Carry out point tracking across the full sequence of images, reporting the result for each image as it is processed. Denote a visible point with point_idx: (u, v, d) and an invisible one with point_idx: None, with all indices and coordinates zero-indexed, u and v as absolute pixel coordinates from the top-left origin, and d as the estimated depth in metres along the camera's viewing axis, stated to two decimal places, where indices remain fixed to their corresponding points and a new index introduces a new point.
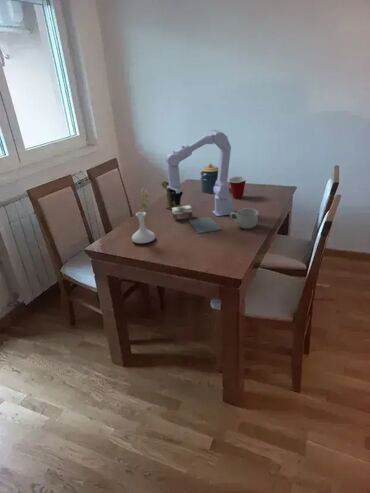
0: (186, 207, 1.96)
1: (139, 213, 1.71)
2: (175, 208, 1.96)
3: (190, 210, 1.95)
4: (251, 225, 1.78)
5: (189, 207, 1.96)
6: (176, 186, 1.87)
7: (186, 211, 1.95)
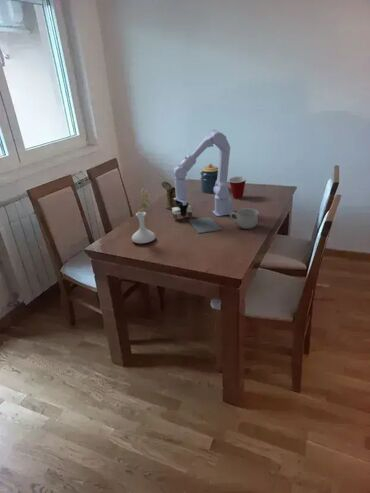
0: None
1: (139, 213, 1.71)
2: (175, 208, 1.96)
3: (190, 210, 1.95)
4: (251, 225, 1.78)
5: (189, 207, 1.96)
6: (183, 198, 1.91)
7: (186, 211, 1.95)
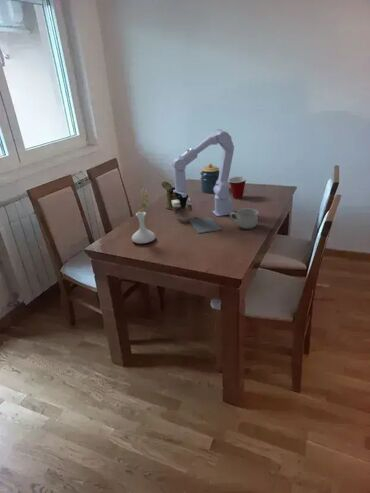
0: None
1: (139, 213, 1.71)
2: (174, 201, 1.94)
3: (190, 203, 1.93)
4: (251, 225, 1.78)
5: (189, 200, 1.94)
6: (182, 190, 1.89)
7: (186, 204, 1.93)
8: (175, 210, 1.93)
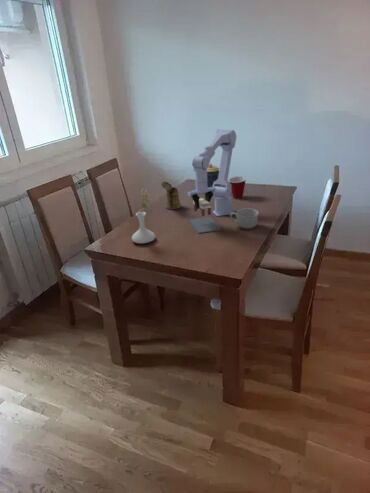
0: (203, 202, 1.81)
1: (139, 213, 1.71)
2: (200, 199, 1.86)
3: (201, 206, 1.79)
4: (251, 225, 1.78)
5: (204, 203, 1.80)
6: (196, 190, 1.79)
7: (199, 205, 1.81)
8: (194, 207, 1.88)
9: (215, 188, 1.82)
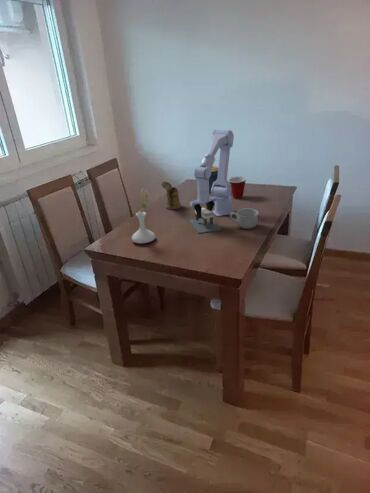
0: (205, 212, 1.83)
1: (139, 213, 1.71)
2: None
3: (203, 216, 1.81)
4: (251, 225, 1.78)
5: (206, 213, 1.81)
6: (198, 200, 1.80)
7: (201, 215, 1.83)
8: (195, 217, 1.89)
9: (216, 197, 1.84)
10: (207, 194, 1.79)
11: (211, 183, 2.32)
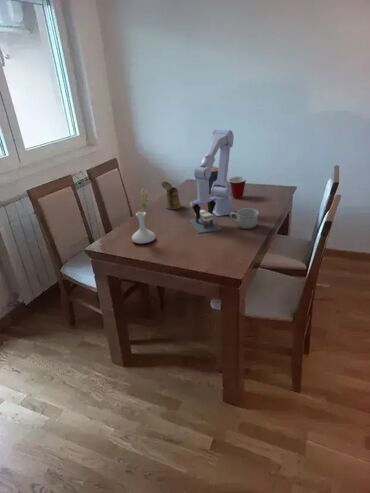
0: (205, 214, 1.83)
1: (139, 213, 1.71)
2: (201, 211, 1.88)
3: (203, 218, 1.82)
4: (251, 225, 1.78)
5: (206, 215, 1.82)
6: (198, 200, 1.80)
7: (201, 218, 1.83)
8: (196, 219, 1.89)
9: (216, 198, 1.84)
10: (207, 194, 1.79)
11: (211, 183, 2.32)
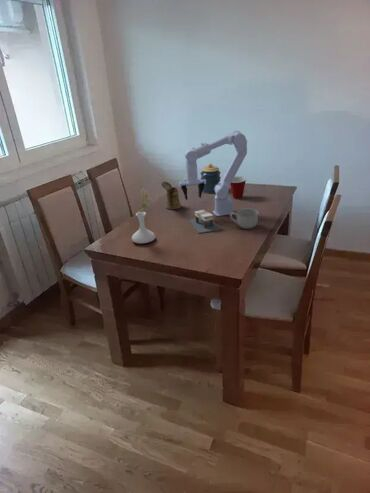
0: (205, 214, 1.83)
1: (139, 213, 1.71)
2: (201, 211, 1.88)
3: (203, 218, 1.82)
4: (251, 225, 1.78)
5: (206, 215, 1.82)
6: (187, 181, 1.92)
7: (201, 218, 1.83)
8: (196, 219, 1.89)
9: (205, 181, 1.94)
10: (194, 176, 1.90)
11: (211, 183, 2.32)
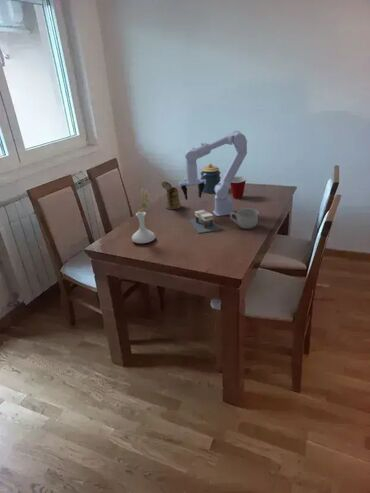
0: (205, 214, 1.83)
1: (139, 213, 1.71)
2: (201, 211, 1.88)
3: (203, 218, 1.82)
4: (251, 225, 1.78)
5: (206, 215, 1.82)
6: (187, 181, 1.92)
7: (201, 218, 1.83)
8: (196, 219, 1.89)
9: (205, 181, 1.94)
10: (194, 176, 1.90)
11: (211, 183, 2.32)
